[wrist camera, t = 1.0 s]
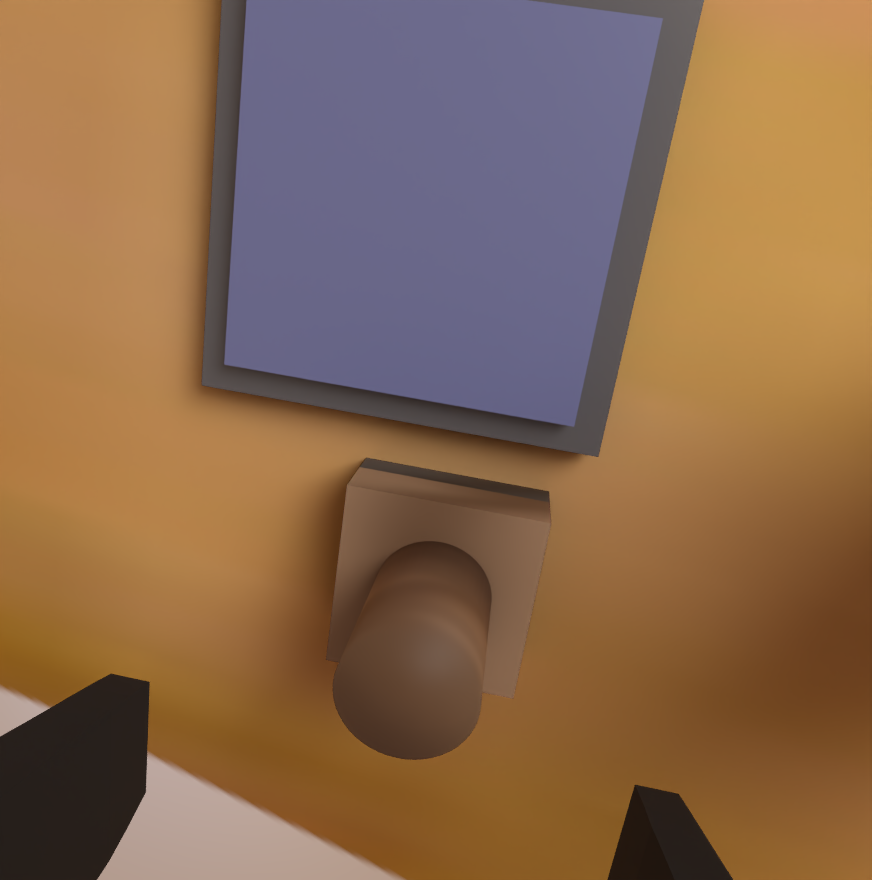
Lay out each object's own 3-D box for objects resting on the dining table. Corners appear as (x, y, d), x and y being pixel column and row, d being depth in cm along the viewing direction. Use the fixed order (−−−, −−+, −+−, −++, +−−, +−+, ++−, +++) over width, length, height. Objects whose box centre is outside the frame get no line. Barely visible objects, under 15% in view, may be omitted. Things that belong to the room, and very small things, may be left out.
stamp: (548, 490, 17) (557, 611, 12) (515, 649, 18) (508, 824, 13) (367, 456, 17) (294, 559, 12) (347, 615, 19) (272, 772, 13)
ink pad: (697, 0, 14) (713, -22, 12) (595, 446, 16) (600, 464, 15) (241, -59, 14) (214, -86, 13) (216, 378, 17) (191, 389, 16)
